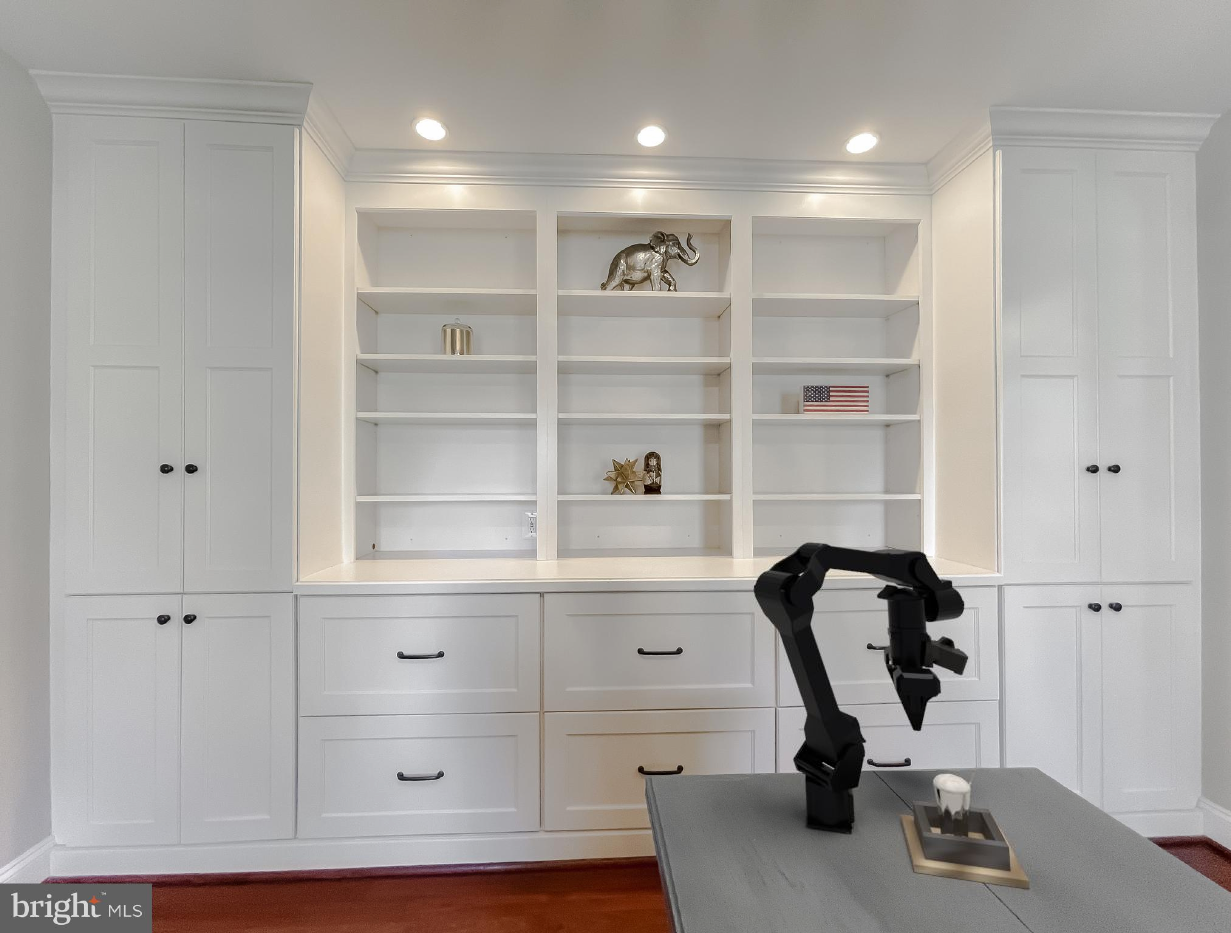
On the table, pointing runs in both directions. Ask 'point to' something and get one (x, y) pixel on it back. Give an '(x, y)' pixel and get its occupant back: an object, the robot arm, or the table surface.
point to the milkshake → (953, 803)
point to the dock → (961, 848)
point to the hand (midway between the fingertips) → (912, 720)
